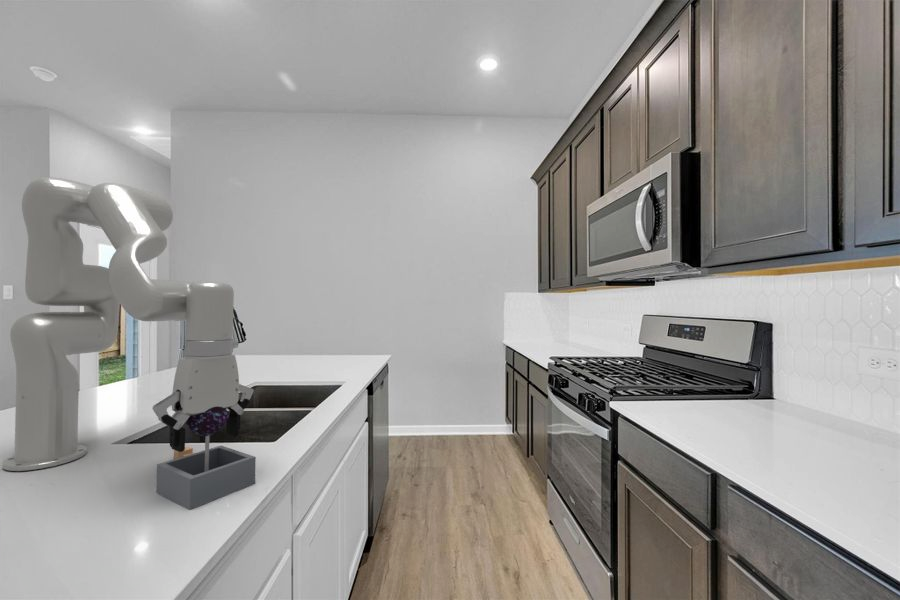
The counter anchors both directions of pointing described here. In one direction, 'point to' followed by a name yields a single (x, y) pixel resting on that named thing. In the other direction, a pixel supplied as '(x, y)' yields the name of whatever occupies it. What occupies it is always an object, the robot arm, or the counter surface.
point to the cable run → (183, 452)
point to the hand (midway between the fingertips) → (206, 442)
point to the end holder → (205, 476)
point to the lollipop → (208, 426)
